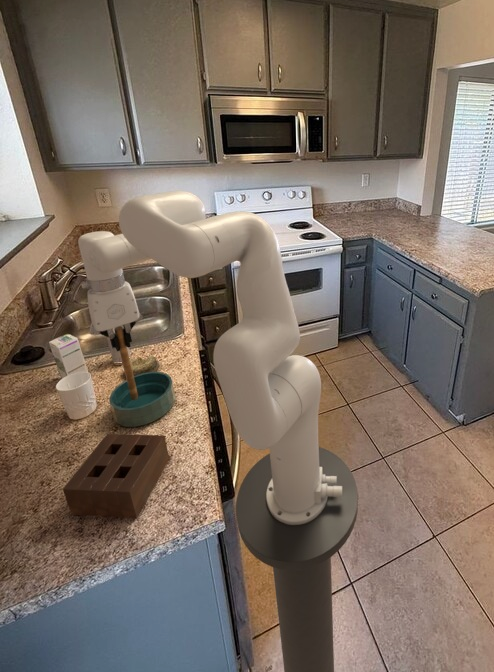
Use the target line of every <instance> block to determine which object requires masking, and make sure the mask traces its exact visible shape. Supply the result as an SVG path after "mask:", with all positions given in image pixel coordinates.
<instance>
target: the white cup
mask: <svg viewBox="0 0 494 672" xmlns="http://www.w3.org/2000/svg"><path fill="white" fill-rule="evenodd" d="M55 389H56V391H57V394H58V398H59V399H60V402H61V404H62V406H63V409H64V411H65V412H66V414H67V415H66V416H67V417H68V418H69V419H70V420H75V421H76V420H81V419H84V418H86V417H89V416H90V415H91V414H92V413H94V412H95V411H96V409H97V407H98V406H97V405H98V403H97V399H96V393H95V386H94V383H93V379H92V374H91V373H90V372H89V371H88V372H77V373H73V374H71V375H68V376H66V377H64V378H63V379H61V378H60V380H59V381H58V382H57V383H56V385H55Z"/></svg>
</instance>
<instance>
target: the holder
mask: <svg viewBox="0 0 494 672" xmlns="http://www.w3.org/2000/svg"><path fill="white" fill-rule="evenodd" d="M165 436H166V435H164V434H163V435H162V434H159V435H157V434H129V433H128V434H126V433H125V434H124V433H106V435H105V436H104V437H103V438H102V440H101V441H100V442H99V443H98V445H96V447H95V448H94V449H93V451H92V452H91V453H90V455H88V457H87V458H86V460H84V462H83V463H82V465H80V467H79V468H78V469H77V471H75V473H74V474H73V476H72V477H71V478H70V479H69V481H67V483H66V484H65V485H64V486H63V488H62V492H63V494H64V498H65V501H66V504H67V506H68V508H69V512H70V514H71V516H86V517H87V516H88V517H111V518H127V519H128V518H129V519H137V518H138V517H139V515H140V513H141V512H142V510H143V508H144V506H145V504H146V502H147V500H148V499H149V497H150V495H151V493H152V491H153V489H154V487H155V486H156V484H157V482H158V481H159V479H160V477H161V475H162V474H163V472H164V470H165V469H166V467H167V465H168V463H169V461H170V454H169V449H168V446H167V441H166V437H165Z"/></svg>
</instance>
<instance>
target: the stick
mask: <svg viewBox="0 0 494 672" xmlns="http://www.w3.org/2000/svg"><path fill="white" fill-rule="evenodd" d="M122 327H123V326H122ZM122 327H121V326H120V327H116V328H115V329H114V330H115V334H116V336H117V338H118V342H119V346H120V355H121V359H122V363H123V365H122V367H123V371H124V376H125V378H126V380H127V384H128V388H129V392H130V396H131V400H136V399H137V398H138V393H137V389H136V384H135V380H134V376H133V371H132V367H131V363H130V360H131V359H130V358H129V354H128V350H127V346H126V342H125V337H124V333H123V328H122Z"/></svg>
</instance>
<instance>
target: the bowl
mask: <svg viewBox="0 0 494 672" xmlns="http://www.w3.org/2000/svg"><path fill="white" fill-rule="evenodd" d="M134 380H135V384H136V389H137V393H138V398H137V399H136V400H131V396H130V392H129V388H128V384H127V380H124V381H123V382H121V383H120V384H118V385H117V386H116V387H115V388H114V389H113V390H112V391H111V393H110V396H109V406H110V410H111V412H112V413H111V414H112V417H113V420H114V421H115V423H117V425H119V426H122V427H127V428H136V427H140V426H145V425H147V424H150V423H152V422H155V421H157V420H159V419H160V418H161V417H163V416H165V415H166V414H167V413H168V412H169V411H170V410H171V409H172V407H173V406H174V404H175V401H176V393H175V387H174V383H173V380H172V377H171V375H169V374H168V373H165V372H162V371H156V372H148V373H142V374H139V375H136V376H134Z"/></svg>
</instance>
